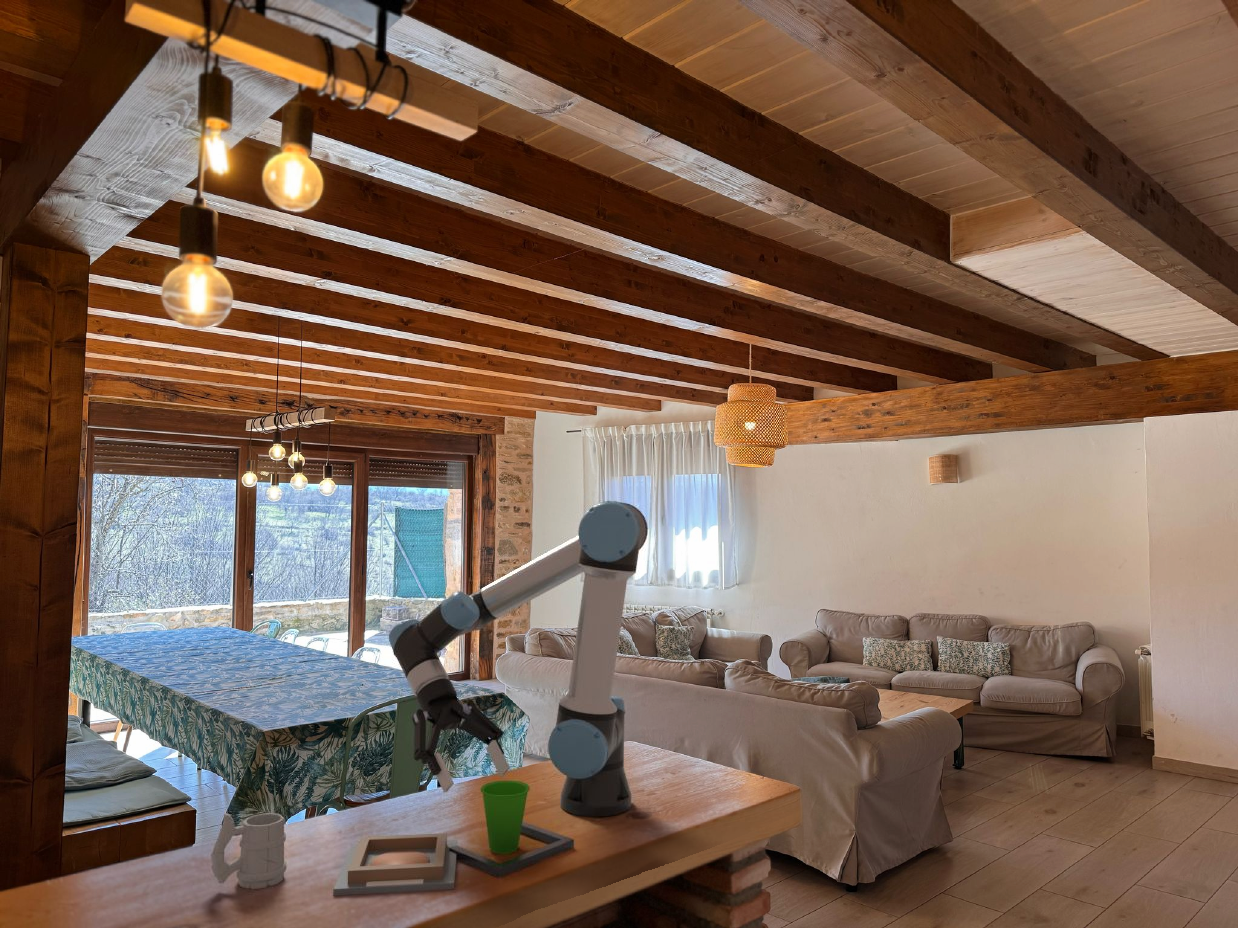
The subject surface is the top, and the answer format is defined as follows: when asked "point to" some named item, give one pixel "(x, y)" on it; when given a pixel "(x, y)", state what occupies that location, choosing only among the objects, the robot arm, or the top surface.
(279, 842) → the mug
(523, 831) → the dark grey u frame
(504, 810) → the cup
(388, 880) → the socket board
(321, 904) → the top surface
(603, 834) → the top surface
